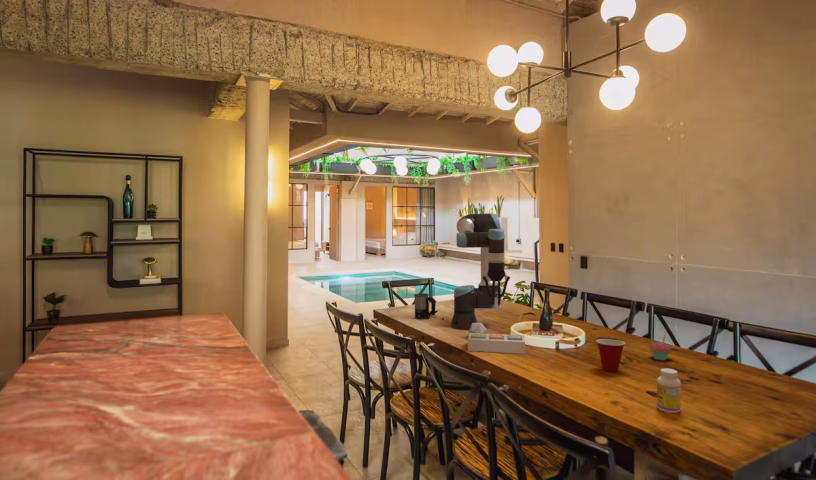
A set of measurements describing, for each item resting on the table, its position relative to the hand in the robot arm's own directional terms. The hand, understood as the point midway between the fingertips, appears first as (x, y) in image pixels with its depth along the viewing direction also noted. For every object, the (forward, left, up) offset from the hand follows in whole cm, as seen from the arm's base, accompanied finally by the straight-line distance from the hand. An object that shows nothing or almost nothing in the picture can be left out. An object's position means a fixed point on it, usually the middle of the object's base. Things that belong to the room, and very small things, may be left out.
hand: (496, 311), depth 216 cm
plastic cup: (+22, +46, -18) cm, 54 cm away
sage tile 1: (0, -8, -15) cm, 17 cm away
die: (-18, -10, -18) cm, 27 cm away
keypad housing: (0, 0, -18) cm, 18 cm away
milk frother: (-62, -45, -18) cm, 79 cm away
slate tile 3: (0, +9, -15) cm, 17 cm away
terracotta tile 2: (0, 0, -15) cm, 15 cm away
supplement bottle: (+59, +56, -18) cm, 84 cm away
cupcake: (+3, +70, -18) cm, 72 cm away
